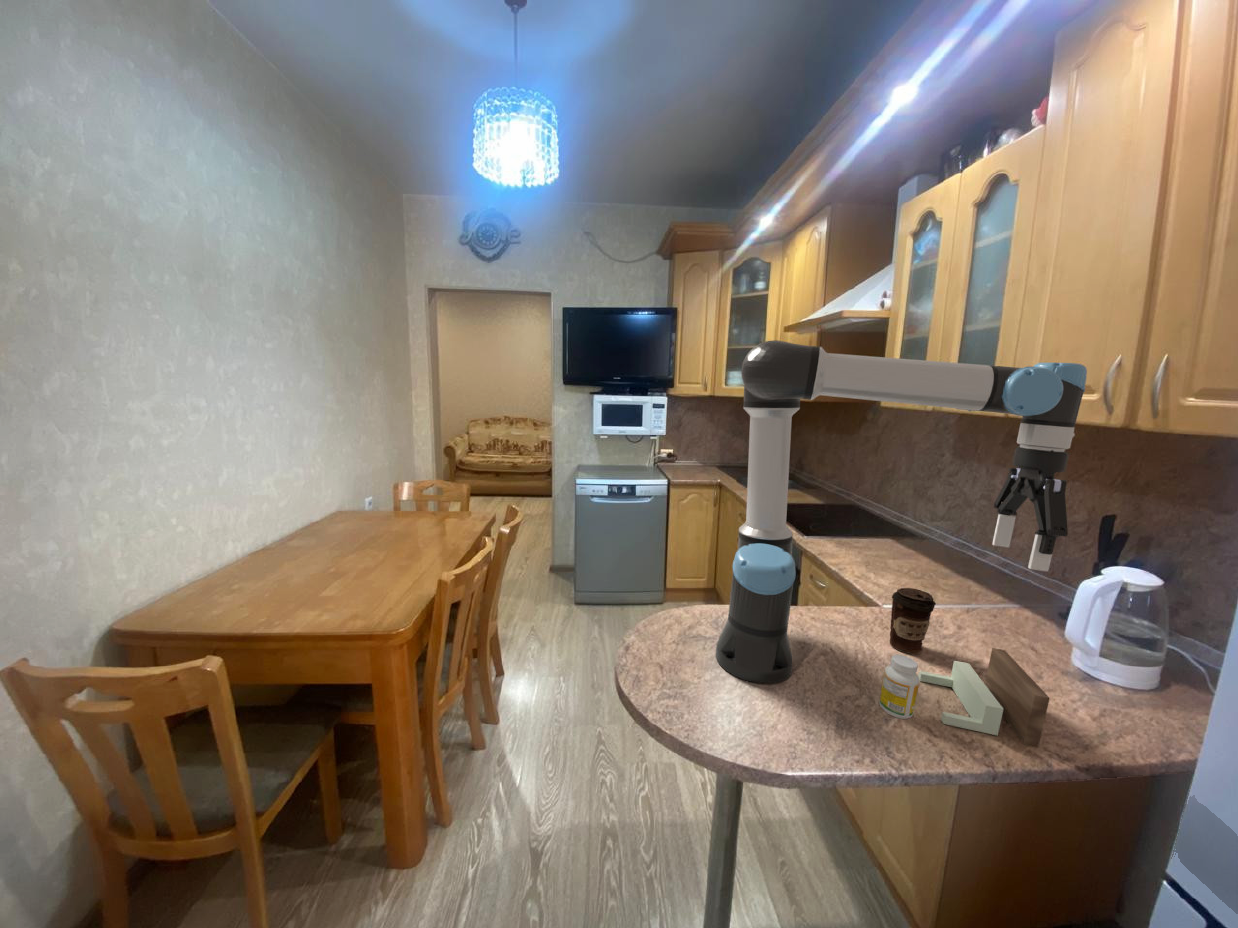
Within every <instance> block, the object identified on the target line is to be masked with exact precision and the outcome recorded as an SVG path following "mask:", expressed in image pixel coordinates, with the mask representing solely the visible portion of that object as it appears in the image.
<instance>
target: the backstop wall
mask: <svg viewBox="0 0 1238 928" xmlns="http://www.w3.org/2000/svg"><path fill="white" fill-rule="evenodd" d="M984 684H985V685H986V687H987V688H988V689H989V691H990V692H991V693H992V694H993V696H994V697H995V698H996V700H997V701H998V702H999V704H1000V705H1001V706H1002V708H1003V714H1002V718H1004V720H1005V721H1006V723H1008V725H1009V726H1010V728H1011V729H1012V730H1013V732H1014V734H1015V735H1016V736H1017V737H1018V739H1019V740H1020V741H1021V743H1022V744H1023V745H1025V746H1031V747H1034V748H1039V745H1040V741H1041V740H1040V739H1041V737H1042V732H1043V728H1044V723H1045V718H1046V715H1047V711H1048V707H1049V703H1050V699H1051V698H1050V696H1048V695H1047V694H1046V692H1045V691H1044V690H1043V689H1042V688H1041V687H1040V686H1039V685H1038V684H1037V683H1036V682H1035V680H1034V679H1032V677H1031V676H1030V675H1029V673H1027V672H1026V671H1025V670H1024V669H1023V668H1022V667H1021V666H1020V664H1018V663H1017V662H1016V661H1015V659H1014V658H1013V657H1012V656H1011V655H1010V654H1009V652H1007V651H1006V650H1005V649H1001V648H996V647H995V648H994V647H991V652H990V658H989V662H988V667H987V671H986V676H985V681H984Z"/></svg>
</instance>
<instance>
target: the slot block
mask: <svg viewBox="0 0 1238 928" xmlns="http://www.w3.org/2000/svg"><path fill="white" fill-rule="evenodd" d="M918 677H919V682H924V683H929V684H933V685H939V686H944V687H949V688H952V690H953V691H954V693H955V694H956V696H957V698H958V699H959V701H960V703H961V704H962V705H963V707H964V708H965V711H967V713H968V715H969V716H965V715H960V714H955V713H951V712H947V711H942V713H941V717H940V721H941V722H942V723H943V725H948V726H951V727H956V728H962V729H966V730H971V731H974V732H975V731H976V732H979V733H984V734H988V735H993V736H999V731H1000V726H1001V722H1002V718H1003V716H1002V714H1003V708H1002V706H1001V705H1000V704H999V702H998V701H997V700H996V698H995V697H994V696H993V694H992V693H991V692H990V691H989V689H988V688H987V687H986V685H985V682H984V681H983V680H982V679H981V678H980V676H979V675H978V673H977V672H976V671H975V669H974V668H973V667H972V666H971V664H970V663H969V662H968V663H967V662H965V661H964V662H962V661H957V660H953V665H952V670H951V675H950V676H949V675H943V674H938V673H934V672H928V671H923V670H919V672H918Z"/></svg>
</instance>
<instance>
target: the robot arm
mask: <svg viewBox="0 0 1238 928" xmlns="http://www.w3.org/2000/svg"><path fill="white" fill-rule="evenodd" d="M1087 375H1088V368H1087V367H1086V366H1085V365H1083V364H1081V363H1075V362H1074V363H1073V362H1072V363H1071V362H1037V363H1036V364H1034V365H1033V366H1025V367H1015V366H1014V367H1013V366H1001V365H997V366H996V365H989V364H978V363H977V364H975V363H961V362H950V361H949V362H948V361H937V360H936V361H935V360H924V359H922V360H921V359H912V358H911V359H909V358H908V359H907V358H897V357H896V358H895V357H886V356H885V357H884V356H872V355H871V356H868V355H856V354H846V353H845V354H844V353H831V352H829V353H828V352H826V350H824V348H823V347H822V346H815V345H814V346H812V345H805V344H798V343H791V342H788V341H783V340H776V339H775V340H767V341H763V342H760V343H759V344H757V345H756V346H754V347H753V348H751V349H750V351H748V353H747V354H746V355H745V358H744V360H743V361H742V365H741V379H742V383H743V385H744V386H743V406H742V407H743V408H742V409H743V410H744V411H745V412H746V413H747V414H748V415H749V435H748V436H749V438H748V465H747V491H746V510H745V511H746V514H745V515H746V516H745V518H746V519H745V522H744V523H743V524H742V525H740V526H739V528H738V542H737V544H738V546H737V551H736V552H735V554H734V555H735V556H734V559H733V561H732V577H731V588H730V594H729V595H730V597H729V605H728V614H727V615H728V617H727V621H726V623H725V625H724V628H723V629H722V632H721V633H720V635H719V637H718V640H717V642H716V645H715V646H716V647H715V660H716V661H717V662H718V664H719V666H720V667H721V668H723V669H724V670H725V671H726V672H727V673H729V674H731V675H733V676H734V677H737V678H739V679H742V680H744V681H748V682H751V683H755V684H767V685H768V684H777V683H780V682H784V681H786V680H787V679H789V677H790V676H791V674H792V672H793V671H792V669H793V663H794V662H793V660H794V659H793V654H792V650H791V646H790V645H791V644H790V641H789V635H788V629H789V628H788V627H789V618H790V611H791V604H792V597H793V596H792V595H793V590H794V588H793V587H794V582H795V579H796V576H797V575H796V573H797V571H796V562H795V560H794V558H793V538H794V536H793V534H794V532H793V531H792V530H791V529H790V528H789V526H787V513H788V512H787V511H788V496H789V495H788V494H789V491H788V490H789V475H790V474H789V473H790V472H789V471H790V459H791V458H790V457H791V455H790V453H791V438H792V436H791V435H792V420H793V419H792V417H793V415H795V414H796V413H797V412H798V411H799V410H800V409H801V400H807V401H808V400H810V401H812V400H814V399H816V398H817V397H819V396H824V397H825V396H826V397H835V398H843V399H844V398H846V399H855V400H856V399H857V400H866V401H877V402H886V403H894V404H895V403H897V404H909V405H918V406H928V407H936V408H939V407H940V408H947V409H948V408H949V409H955V410H963V411H968V412H972V411H973V412H985V413H986V412H988V413H995V414H996V413H997V414H1005V415H1015V416H1019V417H1021V421H1020V425H1019V430H1018V433H1017V439H1016V443H1017V444H1019V446H1017V447H1015V450H1014V454H1013V459H1012V466H1014V467H1010V469H1009V471H1008V474H1007V477H1006V480H1005V481H1004V484H1003V486H1002V487H1001V490H1000V491H999V493H998V496H997V498H996V500H995V501H994V502H993V508H994V509H996V511H997V512H996V513H997V515H998V516H997V520H996V526H995V529H994V534H993V539H992V543H991V545H992V546H994V547H1004V548H1010V545H1011V541H1012V537H1013V531H1014V528H1015V521H1016V516H1018V511H1017V510H1018V509H1019V508H1020V507H1021V506H1022V504H1024V502H1025V501H1026V500H1027V499H1029V501H1030V502H1031V503H1032V504H1033V509H1034V513H1035V517H1036V521H1037V526H1038V530H1036V531H1035V532H1034V534H1035V535H1034V539H1033V544H1032V548H1031V552H1030V557H1029V560H1028V566H1027V568H1028V569H1029V570H1033V571H1034V570H1035V571H1040V572H1041V571H1042V572H1049V569H1050V565H1051V561H1052V558H1053V552H1054V549H1055V543H1056V540H1057V538H1060V537H1067V536H1068V534H1069V530H1068V517H1067V505H1066V504H1067V503H1066V489H1067V481H1066V480H1065V479H1055V474H1056V473H1063V472H1065V471H1066V469H1067V463H1068V460H1069V457H1070V455H1069V453H1068V452H1067V451H1066V450H1069V449H1071V446H1072V442H1073V438H1074V437H1076V435H1075V427H1076V423H1077V419H1078V415H1079V411H1080V407H1081V403H1082V399H1083V396H1084V393H1085V392H1086V383H1087Z"/></svg>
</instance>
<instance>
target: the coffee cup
mask: <svg viewBox="0 0 1238 928" xmlns="http://www.w3.org/2000/svg"><path fill="white" fill-rule="evenodd" d="M891 599H892V602H891V603H892V605H891V614H890V615H891V617H890V627H889V628H890V631H889V644H890V646H891V647H892V648H894V649H896V650H897V651H900V652H902V653H907V654H910V655H911V654H912V655H919V654H921V653H922V652H923V641H924V640H925V636H926V634H927V632H928V630H929V627H930V623H931V622H930V620H931V615H932V612H934V609H935V606H936V605H937V603H936V602H935V601H934V598H933V595H931V594H930V593H929V592H927V591H924V590H921V589H918V588H911V587H901V588H898V589H897V590H896V591H895V592H894V593H892V595H891Z"/></svg>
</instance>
